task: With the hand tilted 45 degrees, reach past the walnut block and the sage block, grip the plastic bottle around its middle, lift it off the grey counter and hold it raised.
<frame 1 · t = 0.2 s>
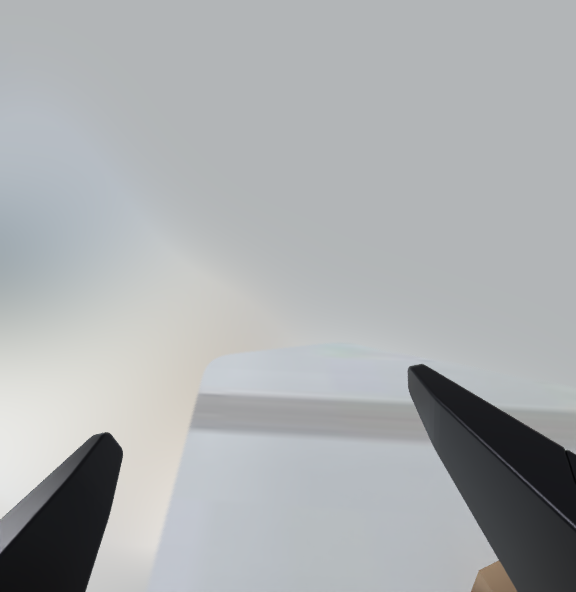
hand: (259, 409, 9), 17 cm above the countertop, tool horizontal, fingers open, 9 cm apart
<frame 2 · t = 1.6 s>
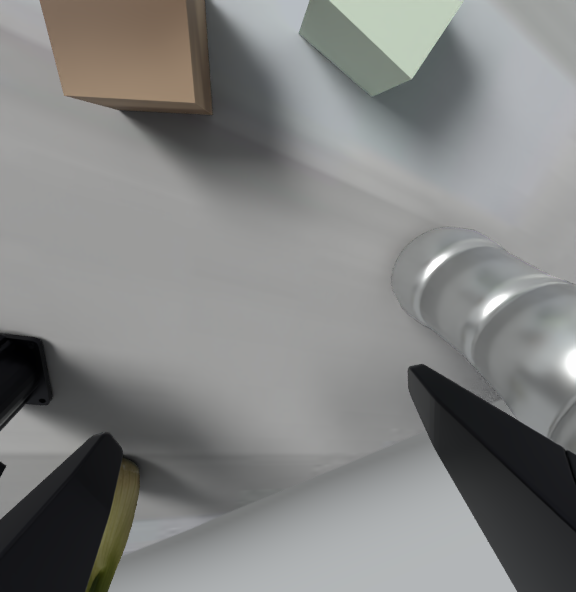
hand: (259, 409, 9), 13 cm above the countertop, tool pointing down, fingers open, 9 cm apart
sage block: (365, 16, 15), on the countertop
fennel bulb: (120, 466, 29), on the countertop
walnut block: (159, 55, 15), on the countertop
plastic bottle: (424, 262, 22), on the countertop
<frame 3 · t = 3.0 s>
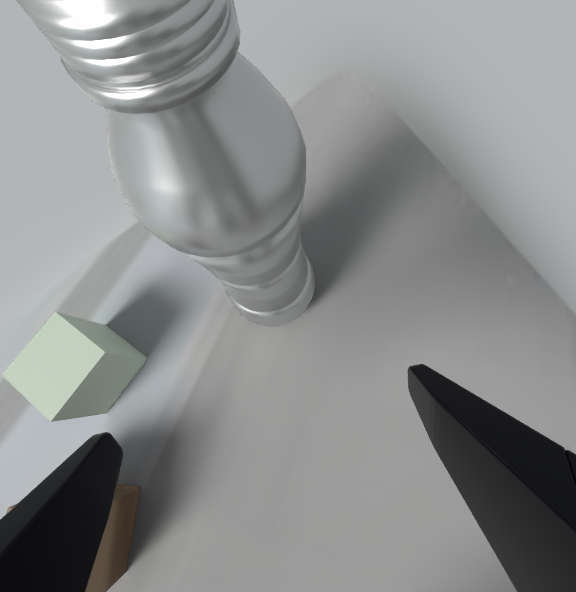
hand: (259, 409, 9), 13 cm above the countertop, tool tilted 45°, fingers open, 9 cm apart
sage block: (106, 367, 24), on the countertop
walnut block: (100, 523, 20), on the countertop
plastic bottle: (275, 292, 24), on the countertop
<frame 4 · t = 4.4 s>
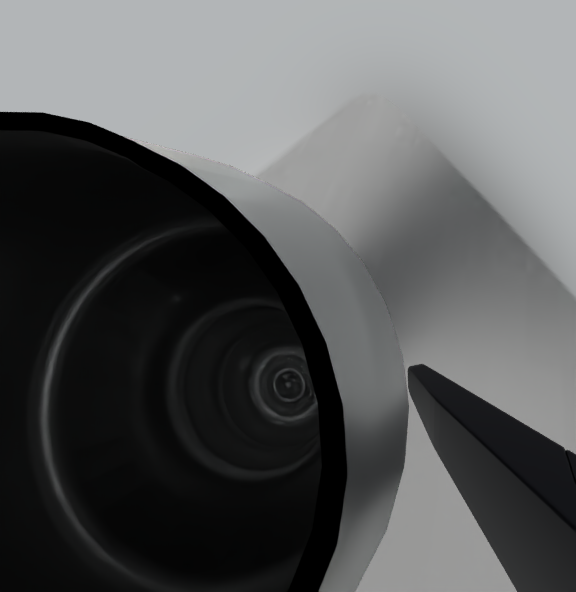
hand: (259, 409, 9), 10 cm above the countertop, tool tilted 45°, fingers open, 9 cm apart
plastic bottle: (289, 384, 18), on the countertop
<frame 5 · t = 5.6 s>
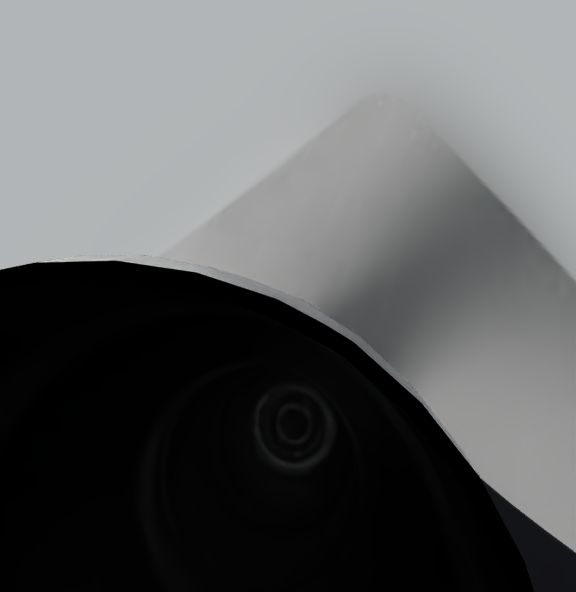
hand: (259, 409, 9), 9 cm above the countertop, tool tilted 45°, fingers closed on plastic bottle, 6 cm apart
plastic bottle: (293, 421, 16), on the countertop, touching gripper
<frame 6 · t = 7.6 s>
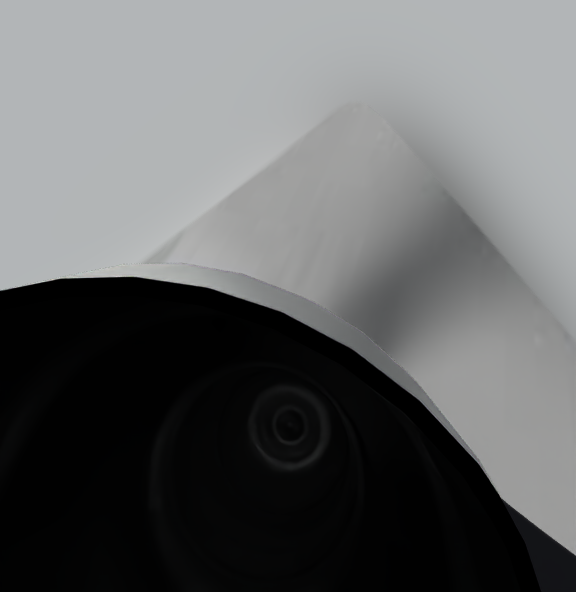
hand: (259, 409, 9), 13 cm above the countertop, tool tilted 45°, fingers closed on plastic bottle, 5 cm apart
plastic bottle: (289, 423, 17), point 4 cm above the countertop, touching gripper
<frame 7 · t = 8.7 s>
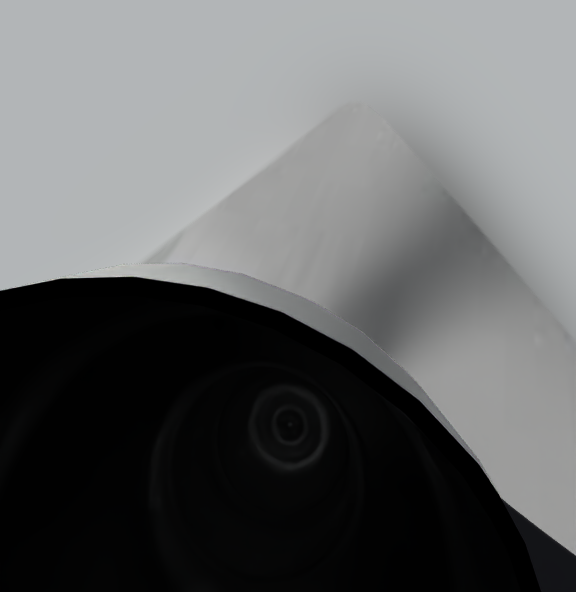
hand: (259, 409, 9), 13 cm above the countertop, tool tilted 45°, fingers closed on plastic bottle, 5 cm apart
plastic bottle: (290, 423, 17), point 4 cm above the countertop, touching gripper
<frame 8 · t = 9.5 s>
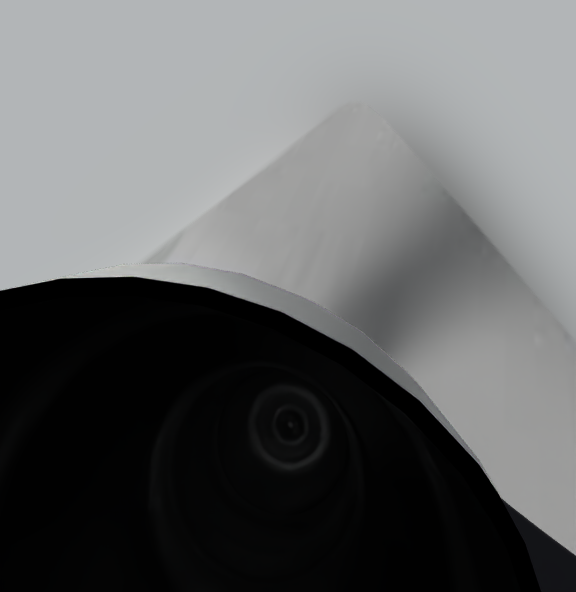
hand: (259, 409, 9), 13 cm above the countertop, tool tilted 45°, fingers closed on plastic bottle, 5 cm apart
plastic bottle: (290, 423, 17), point 4 cm above the countertop, touching gripper
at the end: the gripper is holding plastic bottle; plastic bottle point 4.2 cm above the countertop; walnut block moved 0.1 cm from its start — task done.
